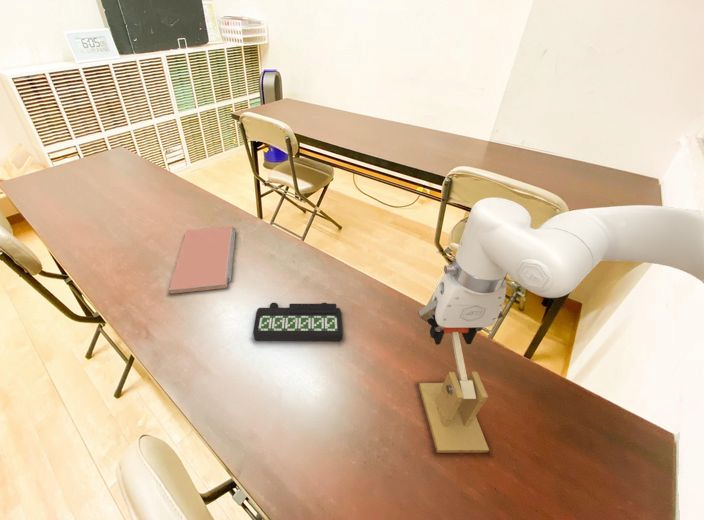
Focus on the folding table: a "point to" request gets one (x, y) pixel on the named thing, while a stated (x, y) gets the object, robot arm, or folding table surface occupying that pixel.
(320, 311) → the digital display
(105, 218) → the folding table surface
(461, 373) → the lever
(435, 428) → the bracket
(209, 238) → the notebook
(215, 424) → the folding table surface
